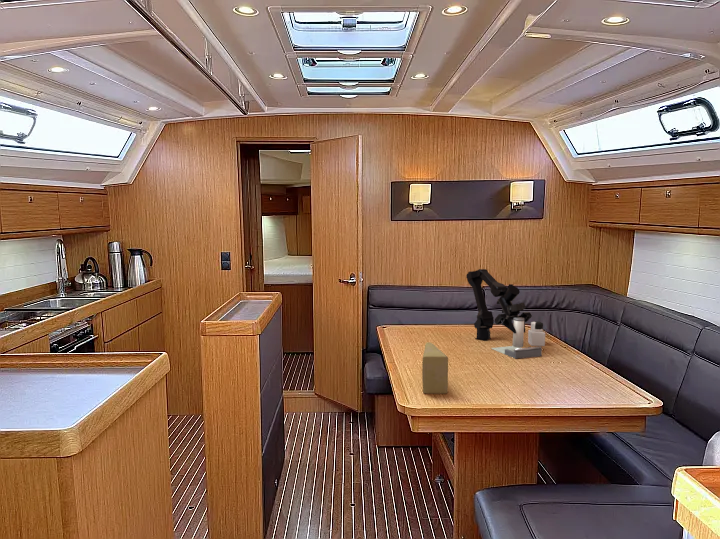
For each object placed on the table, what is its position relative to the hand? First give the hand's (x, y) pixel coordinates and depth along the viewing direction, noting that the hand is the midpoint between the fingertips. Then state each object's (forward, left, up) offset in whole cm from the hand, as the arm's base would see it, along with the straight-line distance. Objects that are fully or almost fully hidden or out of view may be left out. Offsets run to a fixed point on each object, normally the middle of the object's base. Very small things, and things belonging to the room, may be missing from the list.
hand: (520, 332), depth 239 cm
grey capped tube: (-1, +1, -7) cm, 7 cm away
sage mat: (-6, +4, -11) cm, 13 cm away
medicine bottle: (0, +24, -11) cm, 26 cm away
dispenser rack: (+2, -1, -11) cm, 11 cm away
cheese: (-10, -66, -11) cm, 68 cm away
